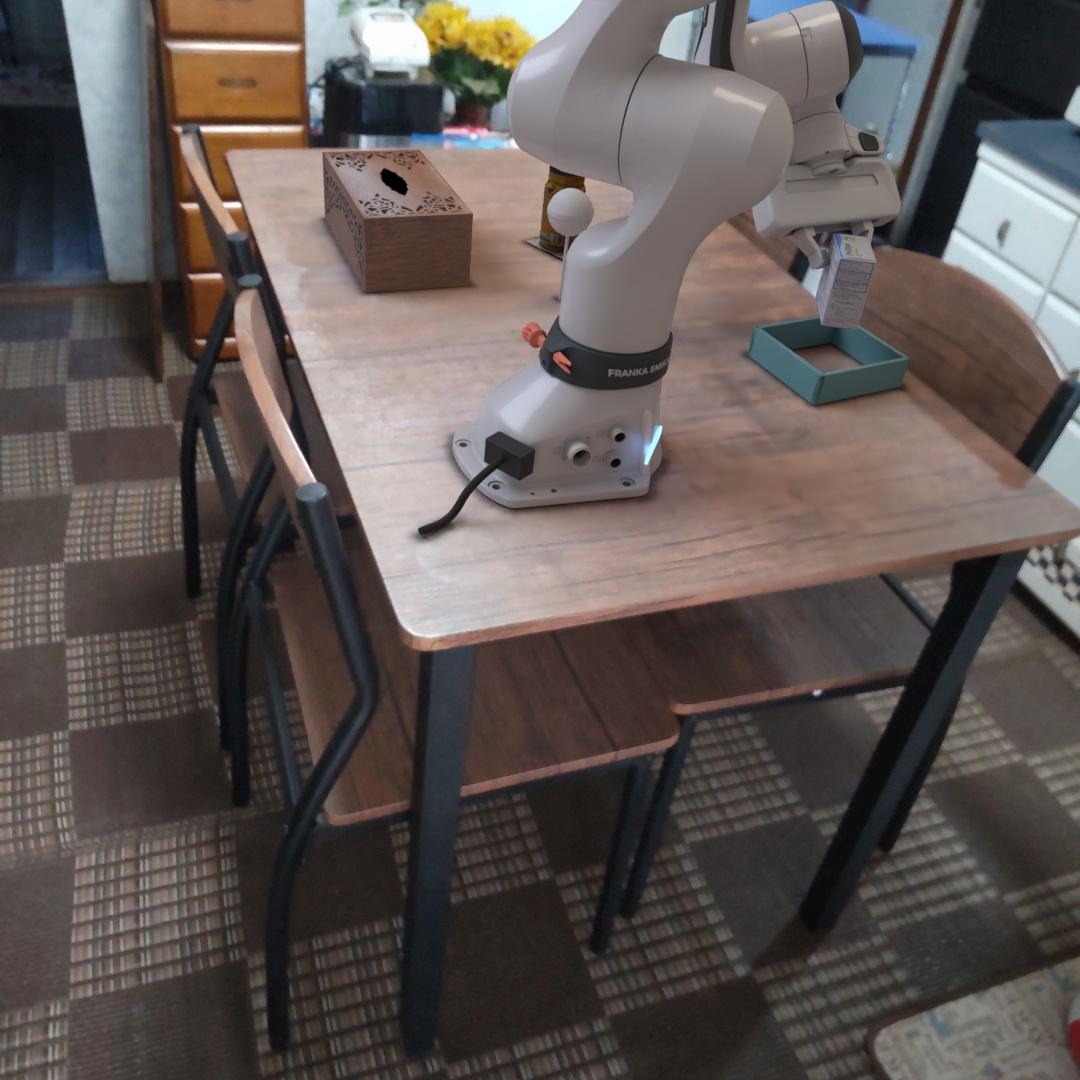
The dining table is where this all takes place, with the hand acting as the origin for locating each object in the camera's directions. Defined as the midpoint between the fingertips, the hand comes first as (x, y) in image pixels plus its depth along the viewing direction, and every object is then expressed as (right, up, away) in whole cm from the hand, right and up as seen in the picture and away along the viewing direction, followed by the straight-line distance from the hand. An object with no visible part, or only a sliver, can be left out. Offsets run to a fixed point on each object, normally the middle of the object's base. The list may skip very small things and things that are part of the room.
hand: (843, 264), depth 119 cm
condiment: (-33, +11, +31) cm, 47 cm away
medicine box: (-1, -6, +2) cm, 6 cm away
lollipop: (-34, 0, +17) cm, 37 cm away
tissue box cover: (-57, +8, +24) cm, 63 cm away
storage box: (0, -12, +7) cm, 14 cm away
